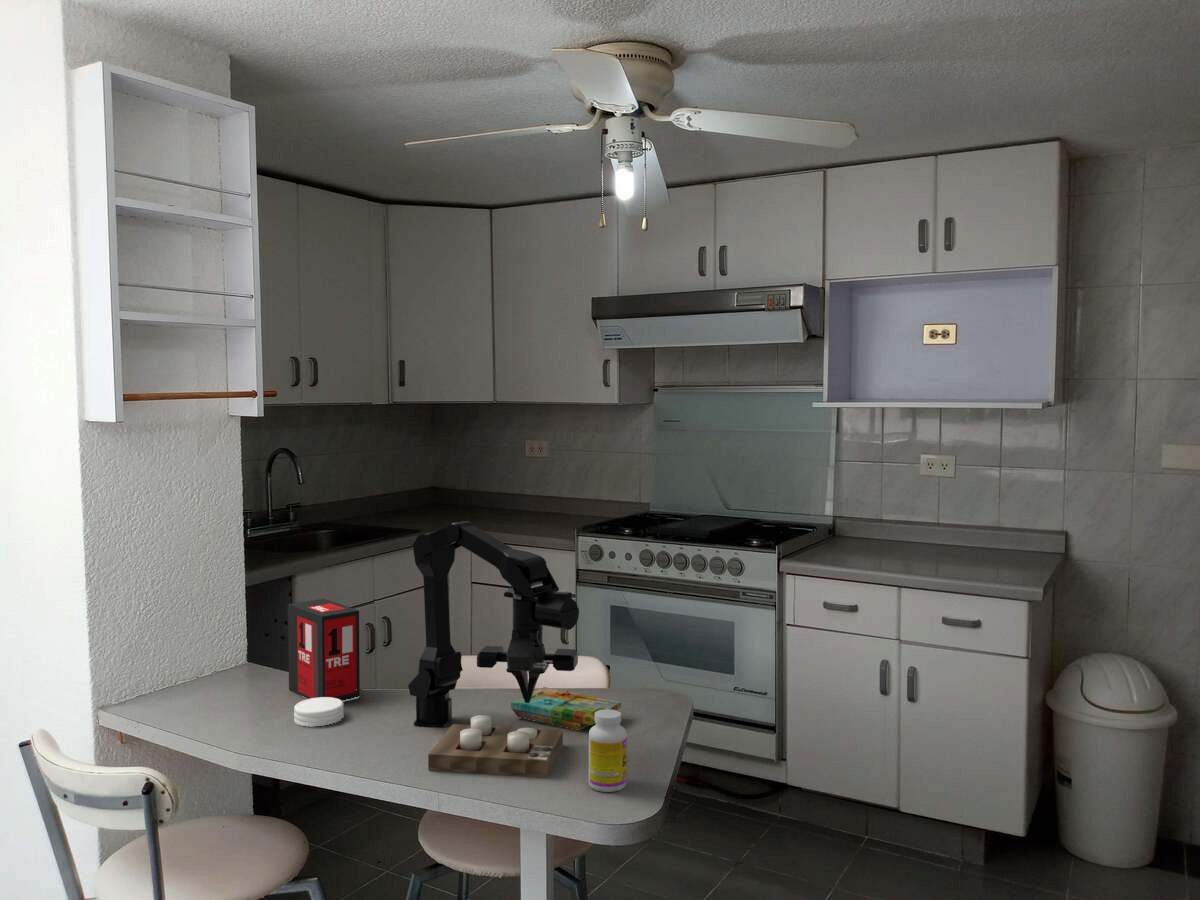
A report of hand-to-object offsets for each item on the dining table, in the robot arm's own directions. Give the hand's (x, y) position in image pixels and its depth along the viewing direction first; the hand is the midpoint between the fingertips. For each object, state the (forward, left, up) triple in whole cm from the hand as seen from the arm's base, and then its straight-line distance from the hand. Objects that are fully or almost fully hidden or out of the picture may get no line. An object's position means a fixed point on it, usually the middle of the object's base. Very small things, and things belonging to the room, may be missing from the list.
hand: (527, 702), depth 182 cm
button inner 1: (-9, 0, -6) cm, 11 cm away
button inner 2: (0, 0, -8) cm, 8 cm away
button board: (-5, -5, -9) cm, 11 cm away
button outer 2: (0, -7, -6) cm, 10 cm away
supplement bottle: (+17, -15, -9) cm, 25 cm away
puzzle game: (+4, +18, -10) cm, 21 cm away
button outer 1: (-9, -7, -6) cm, 13 cm away
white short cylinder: (-47, +10, -10) cm, 49 cm away
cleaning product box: (-53, +26, -9) cm, 60 cm away
